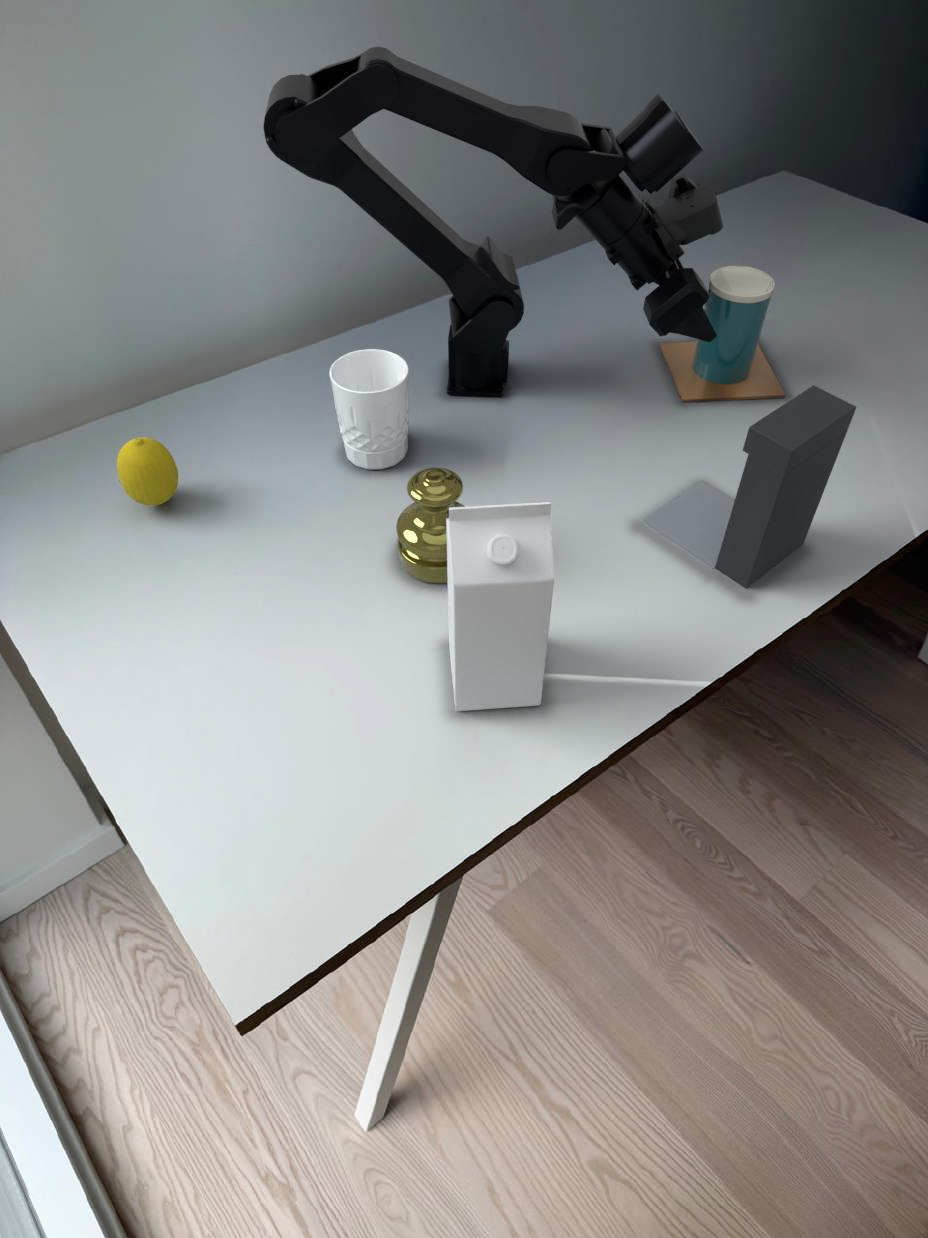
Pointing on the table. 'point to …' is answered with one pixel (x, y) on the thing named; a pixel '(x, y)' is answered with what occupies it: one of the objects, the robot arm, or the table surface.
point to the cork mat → (699, 389)
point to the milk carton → (499, 603)
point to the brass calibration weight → (428, 523)
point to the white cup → (372, 406)
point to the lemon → (147, 471)
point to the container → (733, 323)
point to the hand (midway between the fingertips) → (702, 316)
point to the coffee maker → (763, 491)
